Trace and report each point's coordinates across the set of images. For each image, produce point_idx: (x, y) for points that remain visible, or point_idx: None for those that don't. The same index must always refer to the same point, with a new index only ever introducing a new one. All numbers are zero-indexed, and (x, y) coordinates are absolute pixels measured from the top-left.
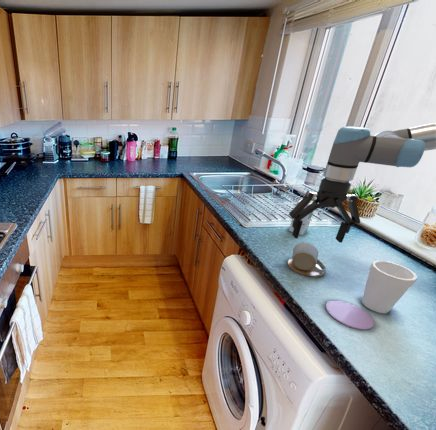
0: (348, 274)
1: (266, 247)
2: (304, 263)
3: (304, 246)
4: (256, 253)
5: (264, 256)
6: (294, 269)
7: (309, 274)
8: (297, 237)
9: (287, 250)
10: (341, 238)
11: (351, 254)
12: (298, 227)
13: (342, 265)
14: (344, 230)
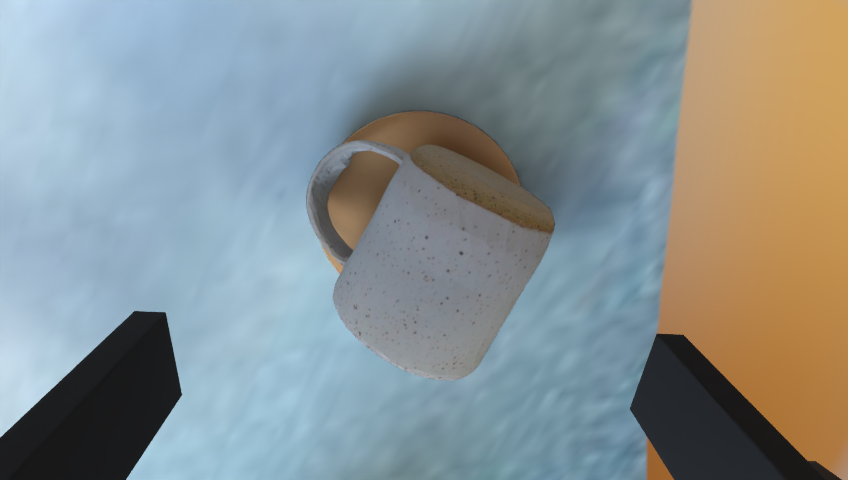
0: (157, 177)
1: (554, 393)
2: (482, 174)
3: (466, 321)
4: (655, 325)
5: (622, 301)
6: (513, 171)
7: (437, 123)
8: (670, 342)
9: (440, 382)
10: (122, 350)
11: None
12: (818, 474)
13: (160, 275)
14: (3, 476)
